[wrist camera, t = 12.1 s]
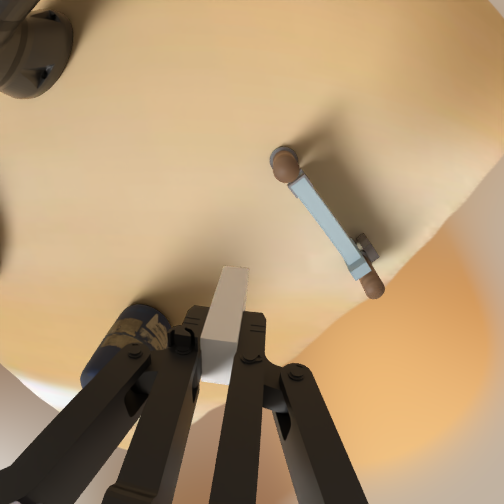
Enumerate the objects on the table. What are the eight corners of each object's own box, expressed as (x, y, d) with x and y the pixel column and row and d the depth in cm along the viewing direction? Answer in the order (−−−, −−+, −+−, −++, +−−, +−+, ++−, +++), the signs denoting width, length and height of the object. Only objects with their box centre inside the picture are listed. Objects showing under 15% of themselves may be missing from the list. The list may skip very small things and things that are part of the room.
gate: (285, 177, 37) (288, 190, 30) (299, 166, 37) (305, 177, 30) (343, 254, 41) (355, 281, 34) (356, 245, 40) (371, 270, 33)
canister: (185, 335, 49) (154, 421, 33) (146, 351, 51) (110, 428, 35) (150, 291, 46) (100, 372, 29) (112, 311, 48) (62, 384, 32)
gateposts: (264, 158, 37) (261, 167, 29) (291, 136, 35) (296, 140, 28) (355, 275, 42) (369, 306, 35) (380, 258, 41) (398, 287, 34)
